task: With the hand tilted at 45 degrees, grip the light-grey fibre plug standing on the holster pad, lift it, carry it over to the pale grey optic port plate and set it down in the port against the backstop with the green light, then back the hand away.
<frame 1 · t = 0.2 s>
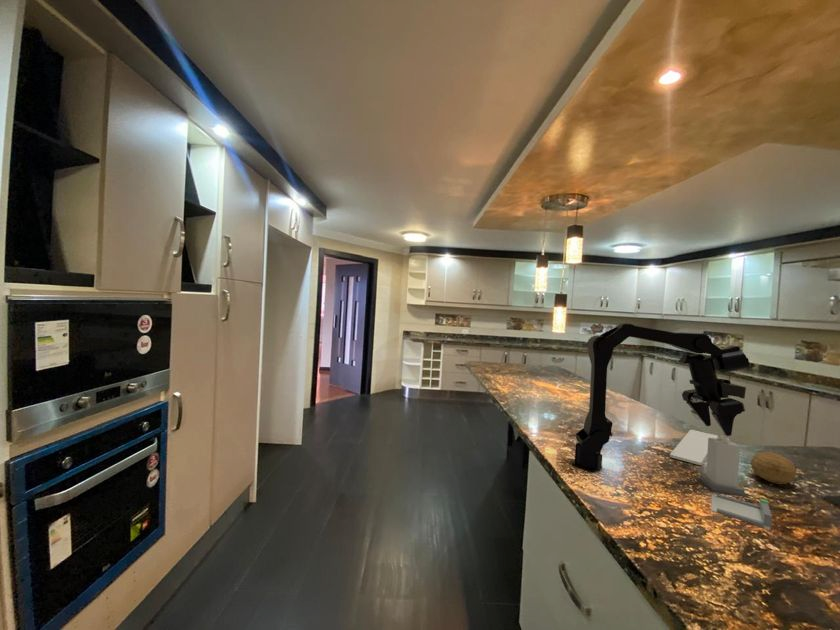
hand: (718, 430, 100), 15 cm above the countertop, tool tilted 15°, fingers open, 9 cm apart
plug: (721, 487, 98), resting on holster pad
potato: (771, 481, 105), on the countertop
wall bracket: (694, 456, 124), on the countertop
holster pad: (721, 488, 98), on the countertop
port: (738, 511, 85), on the countertop
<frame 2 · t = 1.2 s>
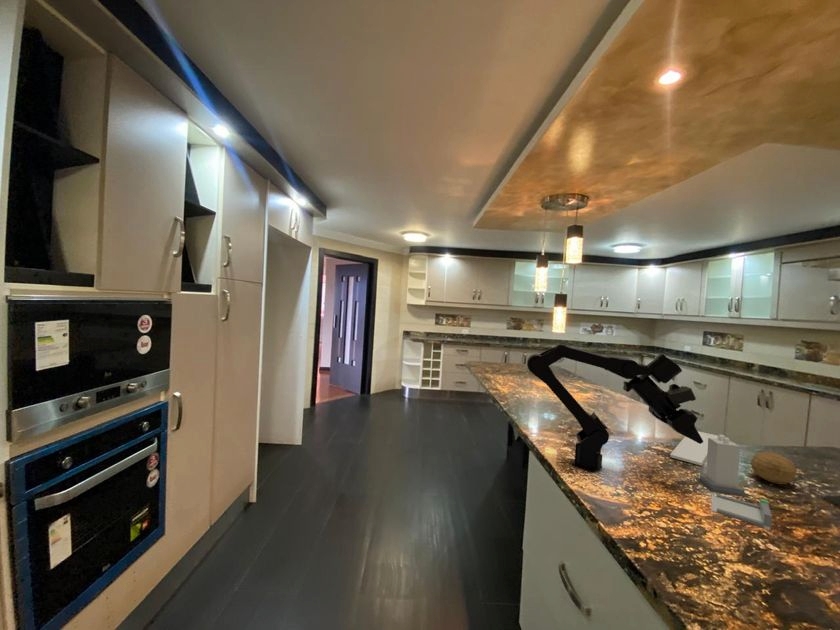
hand: (693, 437, 100), 13 cm above the countertop, tool tilted 45°, fingers open, 9 cm apart
nothing on the countertop moved.
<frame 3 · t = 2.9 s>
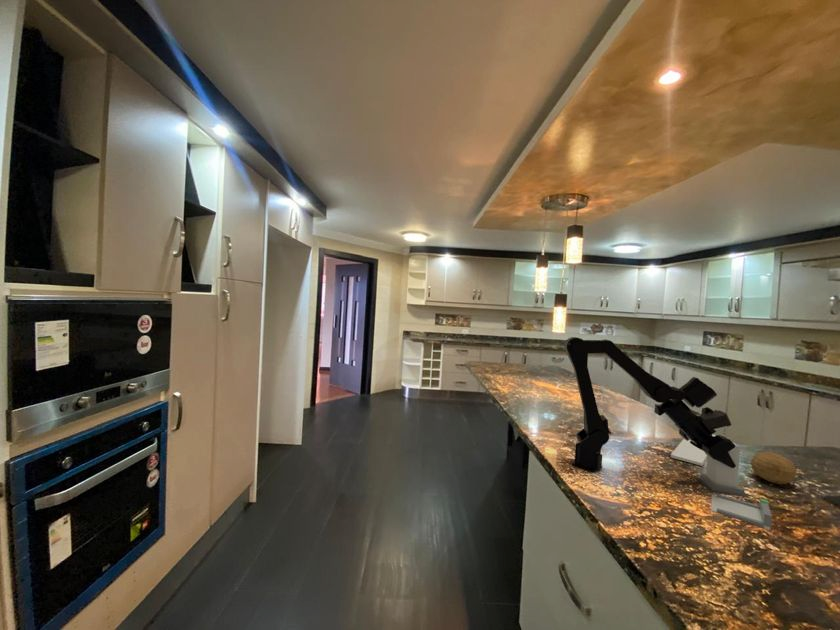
hand: (728, 463, 97), 7 cm above the countertop, tool tilted 45°, fingers closed on plug, 5 cm apart
plug: (721, 487, 98), resting on holster pad, touching gripper
everything else where it was.
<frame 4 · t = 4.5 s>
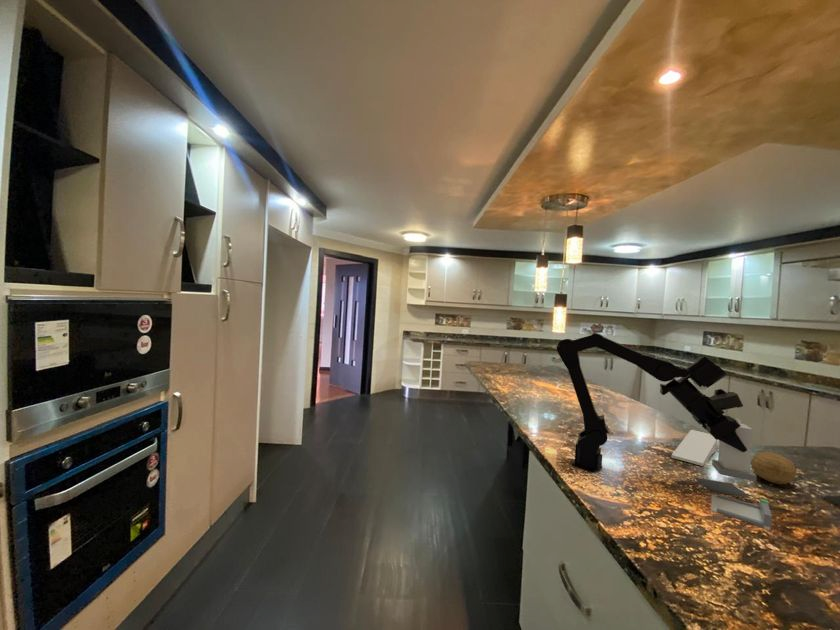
hand: (741, 447, 91), 13 cm above the countertop, tool tilted 45°, fingers closed on plug, 5 cm apart
plug: (732, 472, 92), point 7 cm above the countertop, touching gripper
everything else where it was.
when the fingers open (8 cm above the countertop, at t = 6.4 s): plug drops 1 cm, resting on port.
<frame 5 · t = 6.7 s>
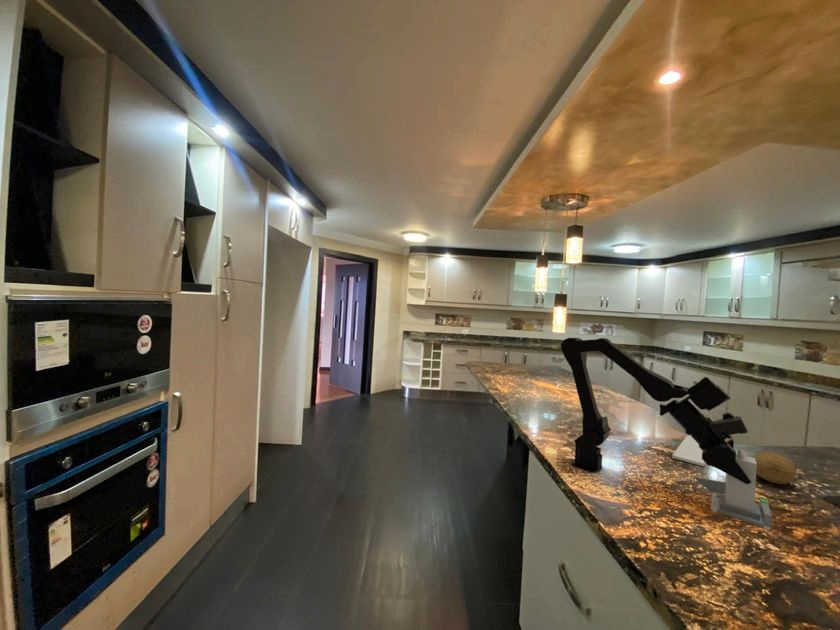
hand: (748, 478, 84), 9 cm above the countertop, tool tilted 45°, fingers open, 8 cm apart
plug: (738, 509, 85), resting on port
everything else where it was.
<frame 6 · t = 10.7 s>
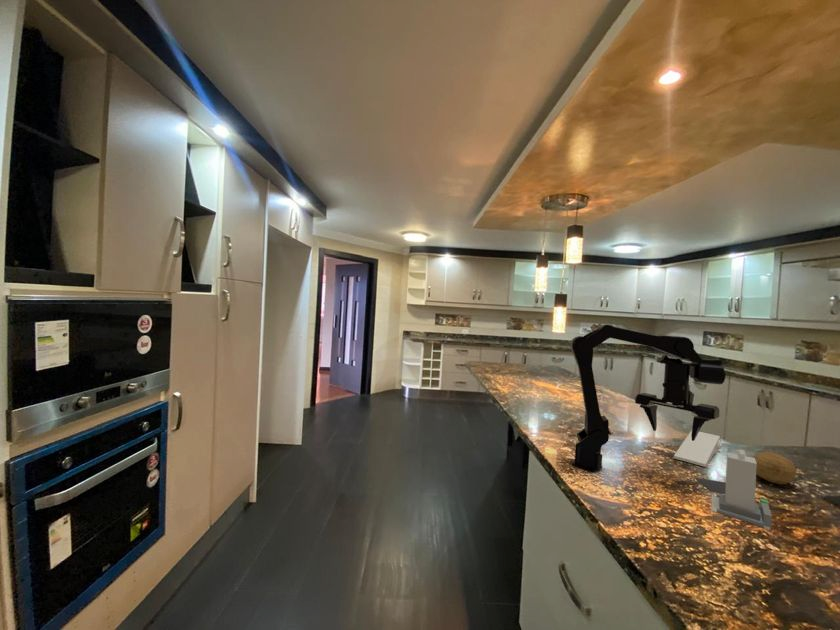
hand: (673, 435, 100), 13 cm above the countertop, tool pointing down, fingers open, 9 cm apart
nothing on the countertop moved.
at the end: plug 0.0 cm off-centre on the port, point 0.5 cm above the port's base; plug tilted 0°; the gripper is holding nothing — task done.
